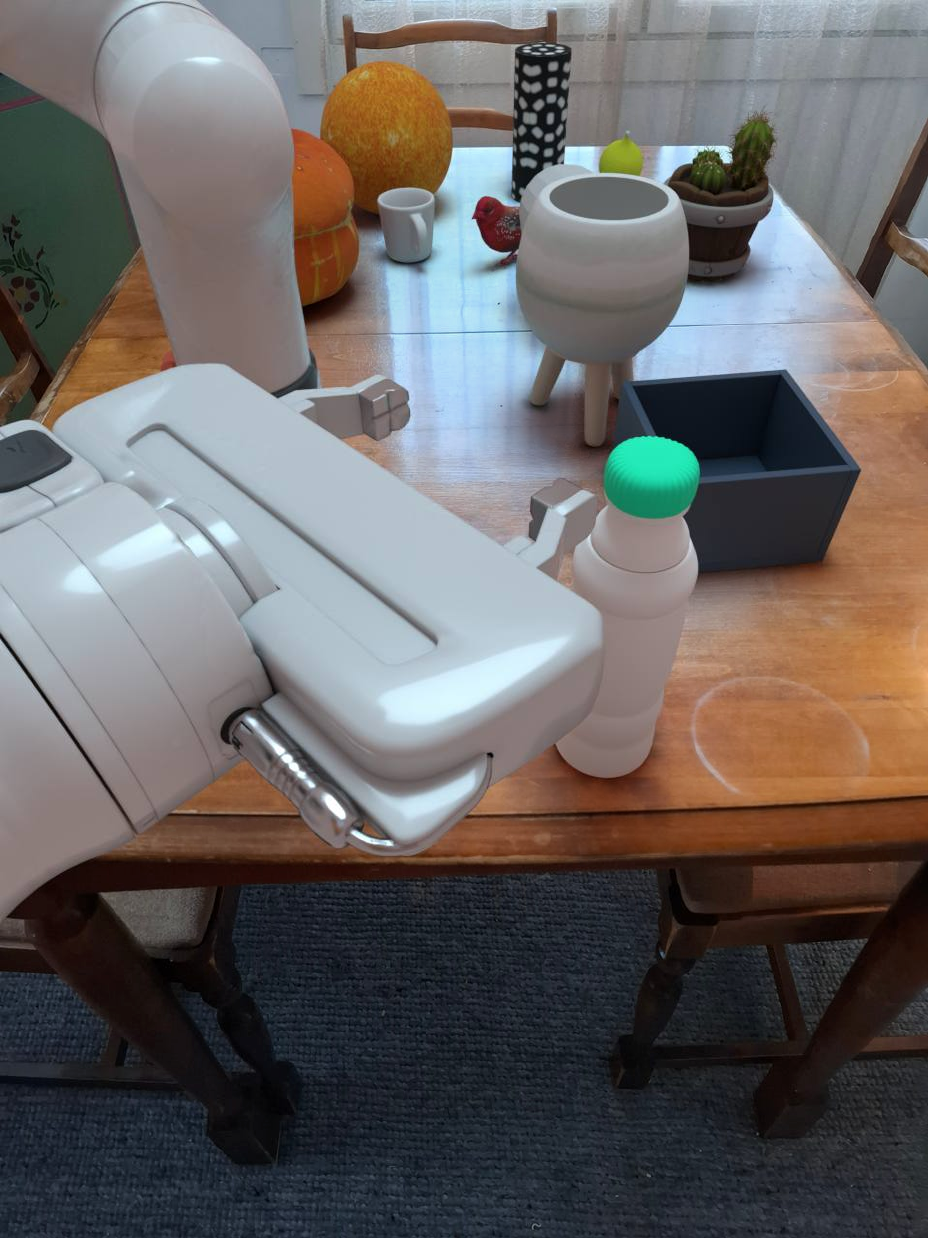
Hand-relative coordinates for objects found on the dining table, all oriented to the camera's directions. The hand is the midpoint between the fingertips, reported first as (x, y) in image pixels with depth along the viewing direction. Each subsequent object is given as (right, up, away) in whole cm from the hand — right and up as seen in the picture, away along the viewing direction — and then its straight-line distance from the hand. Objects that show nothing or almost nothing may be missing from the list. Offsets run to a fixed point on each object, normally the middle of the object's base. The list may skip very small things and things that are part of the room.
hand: (482, 445), depth 29 cm
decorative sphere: (-12, +59, +99) cm, 116 cm away
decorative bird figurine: (+7, +46, +86) cm, 97 cm away
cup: (-8, +46, +86) cm, 98 cm away
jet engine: (+12, +31, +72) cm, 79 cm away
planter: (+13, +16, +58) cm, 62 cm away
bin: (+23, +4, +46) cm, 52 cm away
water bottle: (+9, -15, +29) cm, 34 cm away
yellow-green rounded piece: (+25, +66, +104) cm, 126 cm away
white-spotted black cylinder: (+11, +64, +103) cm, 121 cm away
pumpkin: (-25, +37, +79) cm, 91 cm away
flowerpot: (+33, +43, +83) cm, 99 cm away
